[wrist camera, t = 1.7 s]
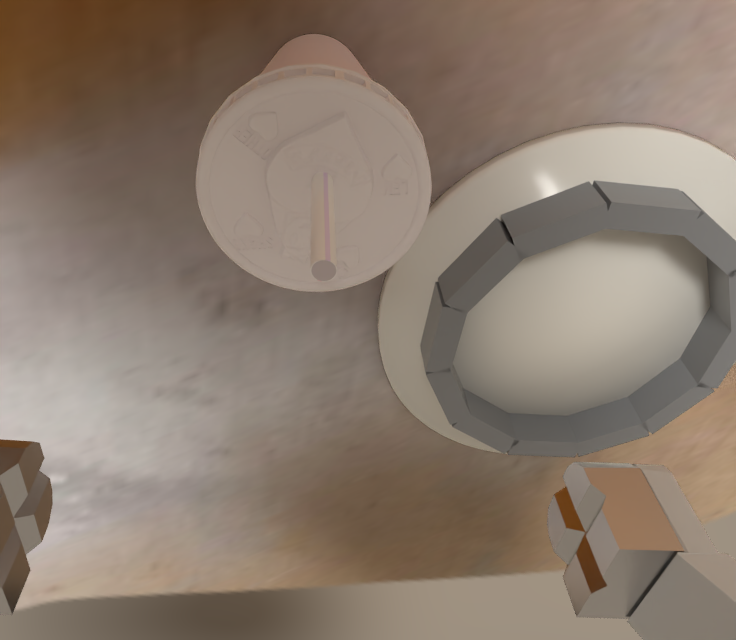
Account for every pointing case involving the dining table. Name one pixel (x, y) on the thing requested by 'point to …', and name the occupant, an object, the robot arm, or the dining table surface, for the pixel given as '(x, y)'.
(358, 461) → the dining table surface
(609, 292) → the ring plate
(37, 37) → the dining table surface
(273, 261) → the smoothie
